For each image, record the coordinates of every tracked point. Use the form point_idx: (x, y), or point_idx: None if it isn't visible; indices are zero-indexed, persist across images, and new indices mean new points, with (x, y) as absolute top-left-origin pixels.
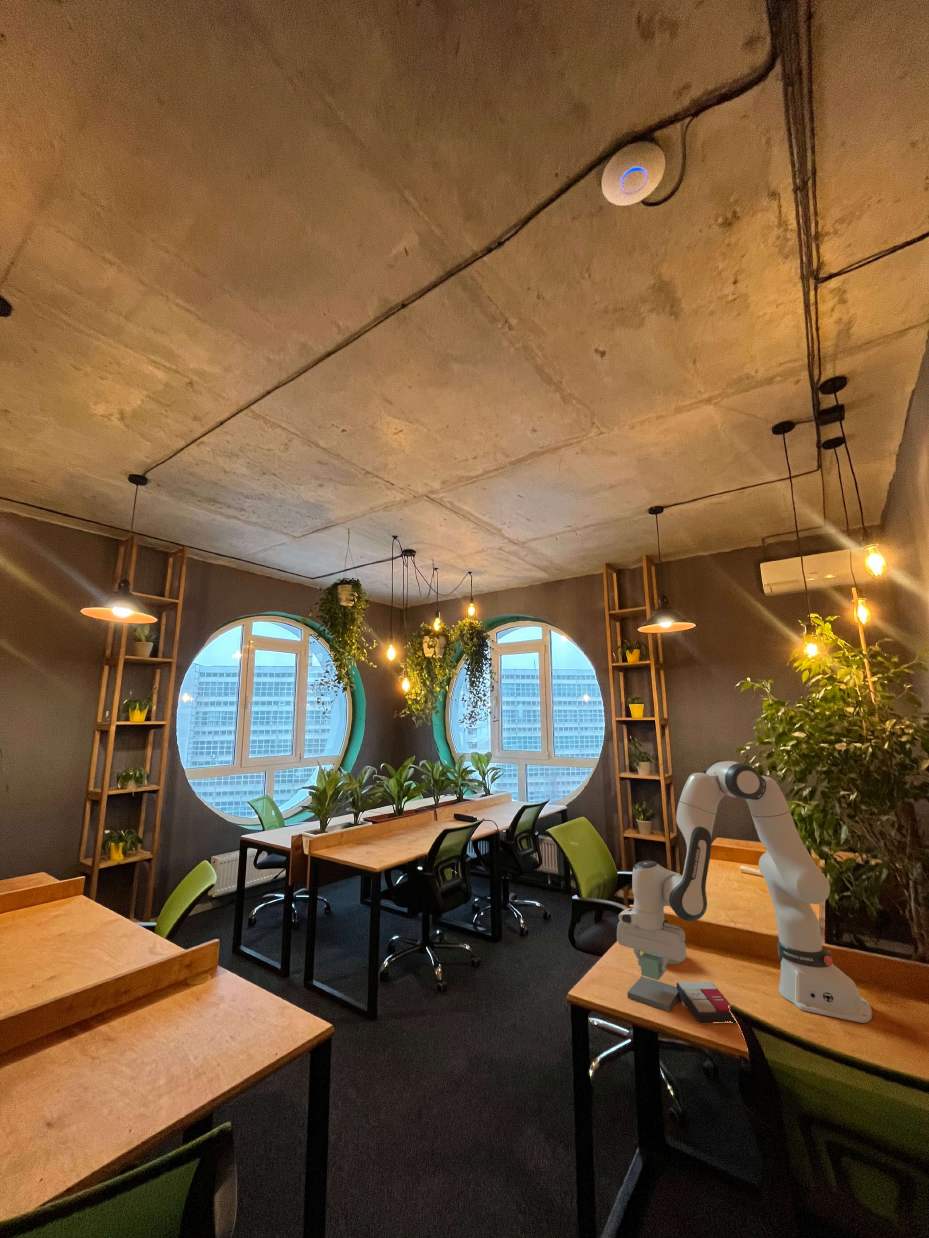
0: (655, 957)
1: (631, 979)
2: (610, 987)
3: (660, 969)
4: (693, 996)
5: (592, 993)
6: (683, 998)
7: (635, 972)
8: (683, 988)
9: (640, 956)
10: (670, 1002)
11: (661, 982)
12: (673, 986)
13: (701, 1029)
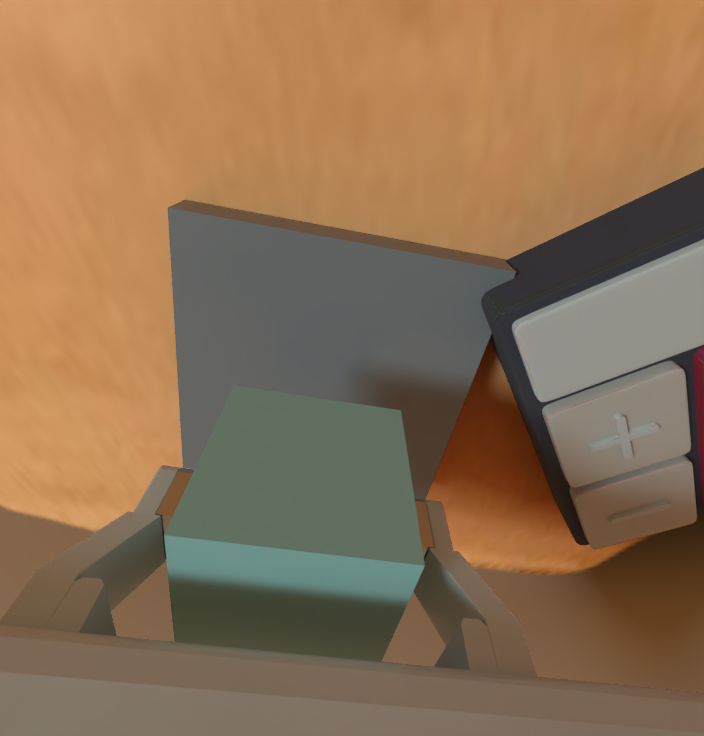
0: (340, 625)
1: (100, 203)
2: (54, 386)
3: None
4: (596, 465)
5: (24, 477)
6: (516, 396)
7: (52, 11)
8: (544, 397)
9: (144, 541)
10: (433, 471)
11: (355, 242)
12: (456, 267)
13: (558, 537)
